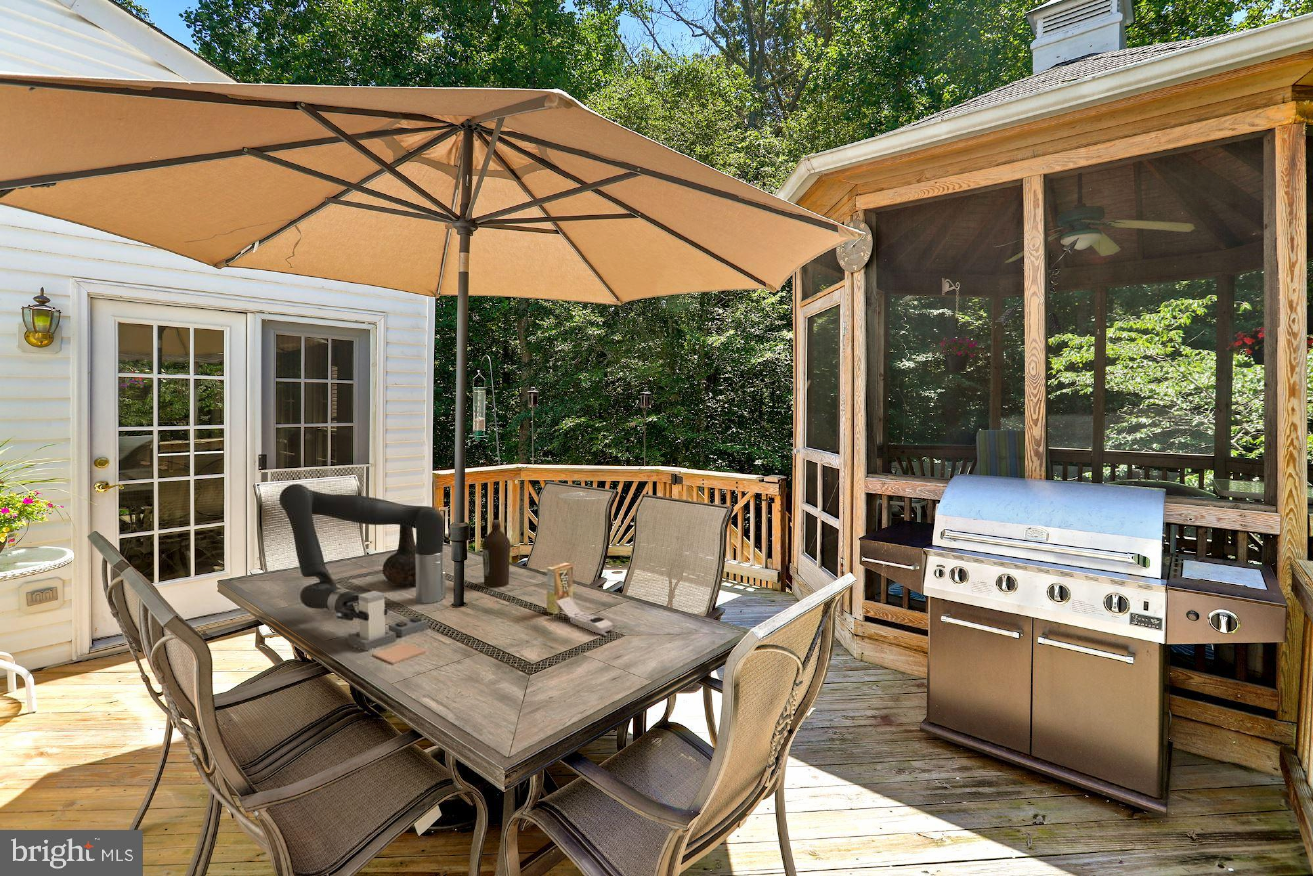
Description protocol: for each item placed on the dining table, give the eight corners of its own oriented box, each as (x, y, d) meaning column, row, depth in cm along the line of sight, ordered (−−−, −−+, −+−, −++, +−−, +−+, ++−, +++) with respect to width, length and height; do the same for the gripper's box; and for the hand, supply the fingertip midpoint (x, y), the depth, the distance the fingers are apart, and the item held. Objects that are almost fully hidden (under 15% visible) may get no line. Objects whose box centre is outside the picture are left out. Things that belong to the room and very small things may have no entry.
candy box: (564, 605, 218) (564, 562, 217) (573, 607, 216) (573, 564, 215) (546, 612, 211) (546, 567, 210) (555, 614, 208) (555, 569, 208)
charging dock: (412, 623, 199) (412, 614, 199) (430, 629, 194) (430, 620, 194) (347, 643, 182) (347, 633, 182) (365, 651, 176) (365, 641, 176)
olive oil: (506, 578, 250) (506, 517, 248) (513, 585, 240) (513, 522, 239) (479, 582, 245) (479, 519, 243) (485, 589, 235) (485, 524, 234)
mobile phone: (569, 596, 210) (618, 614, 192) (569, 613, 211) (618, 632, 193) (554, 600, 206) (603, 619, 188) (555, 617, 206) (603, 638, 189)
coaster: (405, 644, 182) (405, 642, 182) (425, 652, 176) (425, 650, 176) (372, 655, 174) (372, 653, 174) (393, 664, 168) (393, 662, 168)
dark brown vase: (441, 578, 249) (440, 509, 247) (414, 592, 232) (413, 517, 230) (402, 575, 253) (401, 507, 251) (372, 588, 236) (371, 515, 234)
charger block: (375, 636, 187) (374, 590, 186) (385, 640, 184) (384, 593, 183) (359, 641, 182) (358, 595, 182) (369, 645, 180) (368, 598, 179)
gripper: (322, 597, 185) (352, 608, 175) (368, 585, 196) (399, 595, 187) (322, 621, 185) (353, 634, 175) (368, 608, 197) (399, 620, 187)
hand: (376, 614), depth 181 cm, fingers closed on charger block, 5 cm apart
